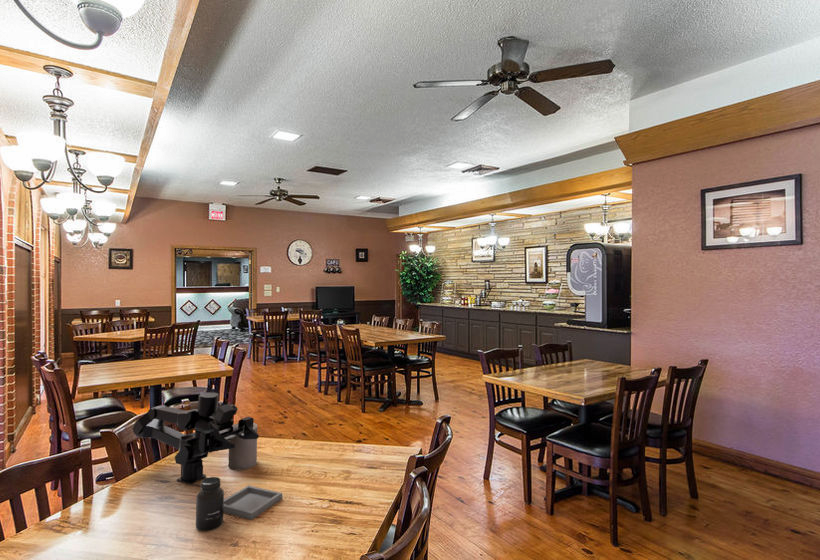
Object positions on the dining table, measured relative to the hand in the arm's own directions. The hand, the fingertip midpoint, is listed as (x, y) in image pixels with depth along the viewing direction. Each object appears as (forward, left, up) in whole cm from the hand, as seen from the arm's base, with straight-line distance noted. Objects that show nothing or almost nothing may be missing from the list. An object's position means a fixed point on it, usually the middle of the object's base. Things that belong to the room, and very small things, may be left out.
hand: (246, 441), depth 137 cm
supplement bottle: (+3, -17, -17) cm, 24 cm away
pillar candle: (-18, +18, -17) cm, 31 cm away
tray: (+5, -4, -17) cm, 18 cm away
